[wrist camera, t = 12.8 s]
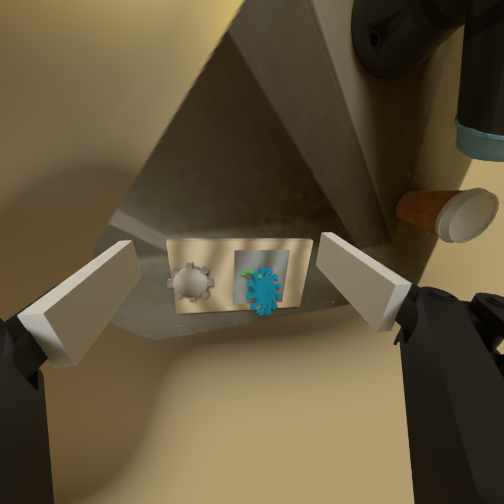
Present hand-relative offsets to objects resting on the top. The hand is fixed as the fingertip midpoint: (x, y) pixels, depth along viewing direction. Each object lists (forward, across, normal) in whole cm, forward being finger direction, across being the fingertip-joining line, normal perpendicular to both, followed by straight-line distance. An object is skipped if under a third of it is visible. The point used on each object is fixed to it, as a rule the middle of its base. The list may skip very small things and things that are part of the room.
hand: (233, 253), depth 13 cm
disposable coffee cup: (+25, +40, -2) cm, 48 cm away
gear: (+23, +6, -18) cm, 30 cm away
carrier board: (+24, +2, -17) cm, 30 cm away
